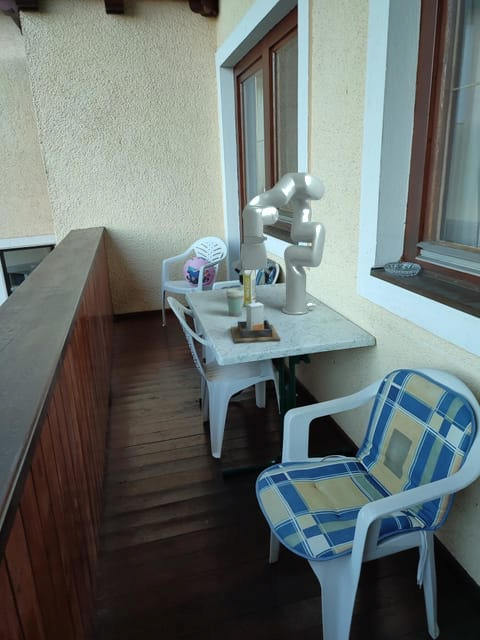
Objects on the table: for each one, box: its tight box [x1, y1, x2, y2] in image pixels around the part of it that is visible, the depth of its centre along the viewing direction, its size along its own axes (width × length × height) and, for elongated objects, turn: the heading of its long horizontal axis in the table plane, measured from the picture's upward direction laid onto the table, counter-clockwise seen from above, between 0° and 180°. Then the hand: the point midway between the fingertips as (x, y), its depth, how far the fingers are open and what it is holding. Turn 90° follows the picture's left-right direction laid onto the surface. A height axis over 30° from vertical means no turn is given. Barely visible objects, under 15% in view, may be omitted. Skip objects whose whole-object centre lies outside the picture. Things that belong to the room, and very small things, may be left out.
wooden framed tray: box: [230, 319, 281, 345], centre depth 181 cm, size 18×18×4 cm
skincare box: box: [245, 301, 265, 330], centre depth 179 cm, size 6×4×12 cm
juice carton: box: [239, 270, 257, 308], centre depth 221 cm, size 8×9×19 cm
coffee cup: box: [225, 288, 244, 318], centre depth 206 cm, size 8×9×12 cm
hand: (254, 283), depth 175 cm, fingers open, 9 cm apart
